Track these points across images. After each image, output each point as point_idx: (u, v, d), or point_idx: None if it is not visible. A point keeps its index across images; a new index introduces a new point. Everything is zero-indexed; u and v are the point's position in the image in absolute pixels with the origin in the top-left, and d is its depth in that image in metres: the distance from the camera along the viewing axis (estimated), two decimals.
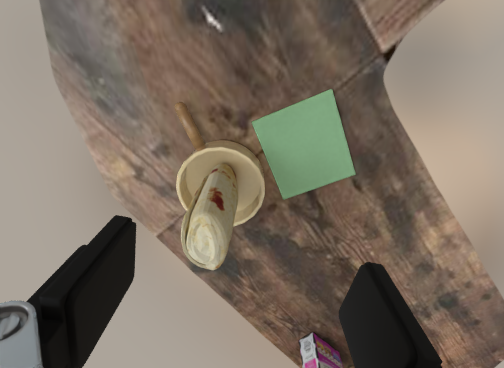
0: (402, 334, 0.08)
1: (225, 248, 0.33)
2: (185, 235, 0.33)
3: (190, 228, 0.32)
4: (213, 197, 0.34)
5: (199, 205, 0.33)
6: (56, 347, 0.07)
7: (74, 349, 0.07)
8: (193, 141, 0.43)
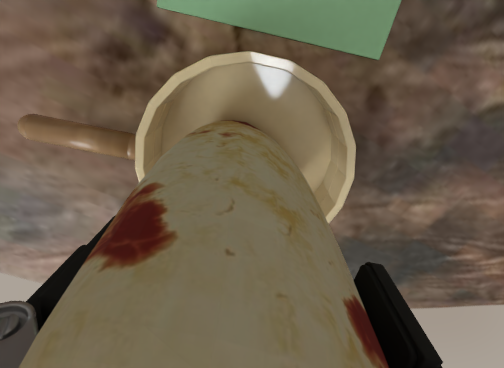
0: (402, 334, 0.08)
1: None
2: None
3: None
4: (106, 232, 0.07)
5: None
6: None
7: None
8: (108, 151, 0.18)
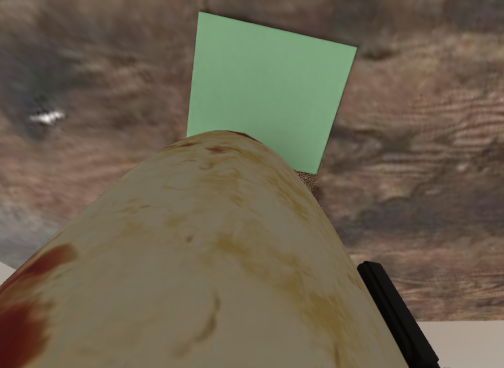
0: (399, 332, 0.08)
1: None
2: None
3: None
4: None
5: None
6: None
7: None
8: None
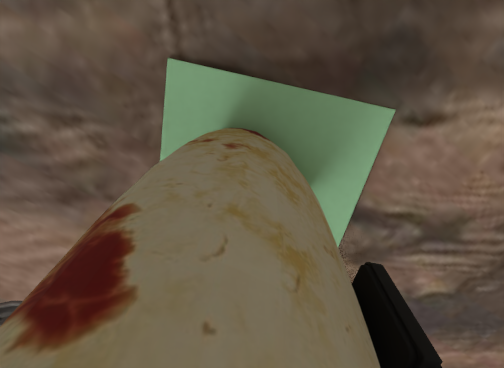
0: (402, 334, 0.08)
1: None
2: None
3: None
4: (51, 272, 0.05)
5: None
6: None
7: None
8: None
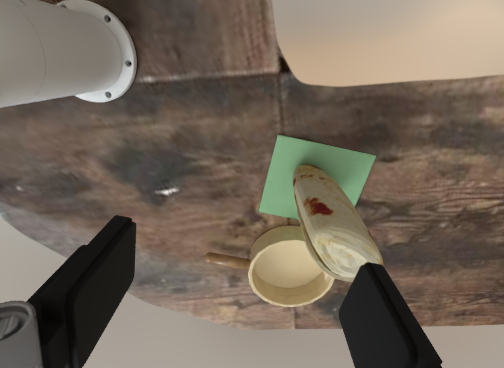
0: (402, 334, 0.08)
1: (370, 244, 0.26)
2: (322, 264, 0.28)
3: (320, 255, 0.27)
4: (311, 209, 0.28)
5: (307, 228, 0.28)
6: (56, 347, 0.07)
7: (74, 349, 0.07)
8: (239, 267, 0.47)
